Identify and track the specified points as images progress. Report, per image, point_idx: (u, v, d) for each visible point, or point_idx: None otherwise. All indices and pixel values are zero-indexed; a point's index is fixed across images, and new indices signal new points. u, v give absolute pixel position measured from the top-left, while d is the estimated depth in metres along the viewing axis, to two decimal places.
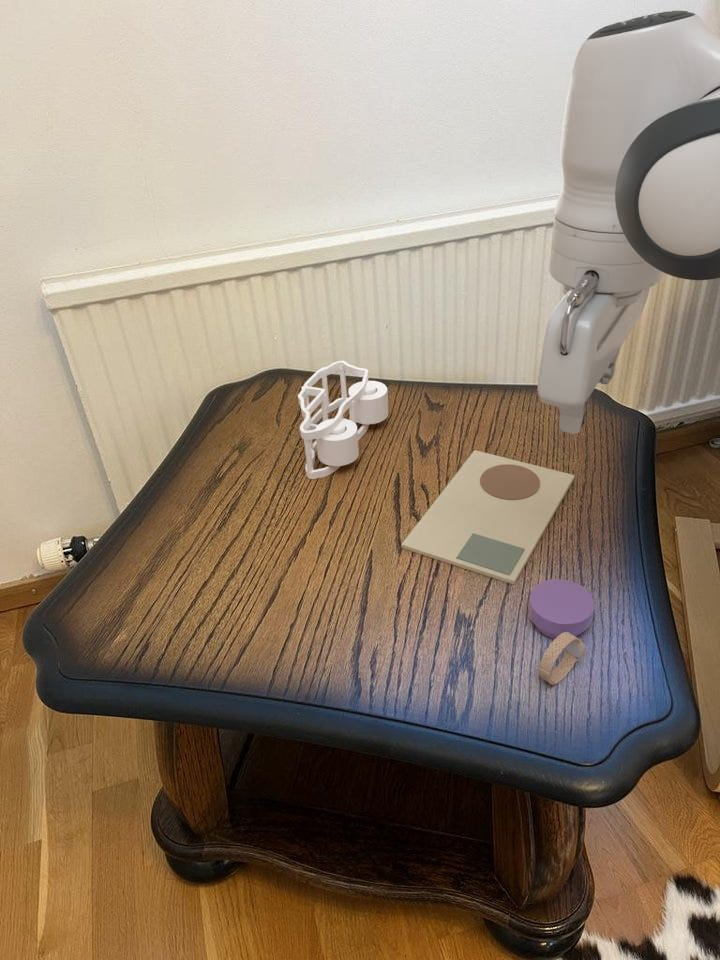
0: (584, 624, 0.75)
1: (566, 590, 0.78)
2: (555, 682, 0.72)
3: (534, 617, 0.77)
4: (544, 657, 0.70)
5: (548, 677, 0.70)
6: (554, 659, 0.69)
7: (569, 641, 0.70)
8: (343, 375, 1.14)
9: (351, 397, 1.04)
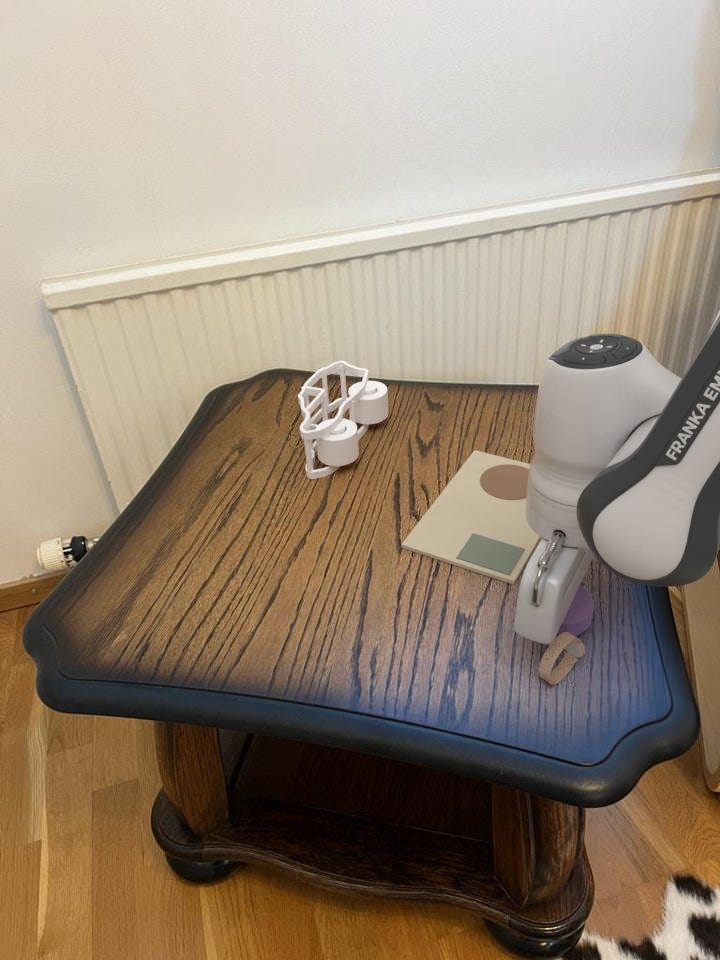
0: (584, 624, 0.75)
1: None
2: (555, 682, 0.72)
3: None
4: (544, 657, 0.70)
5: (548, 677, 0.70)
6: (554, 659, 0.69)
7: (569, 641, 0.70)
8: (343, 375, 1.14)
9: (351, 397, 1.04)
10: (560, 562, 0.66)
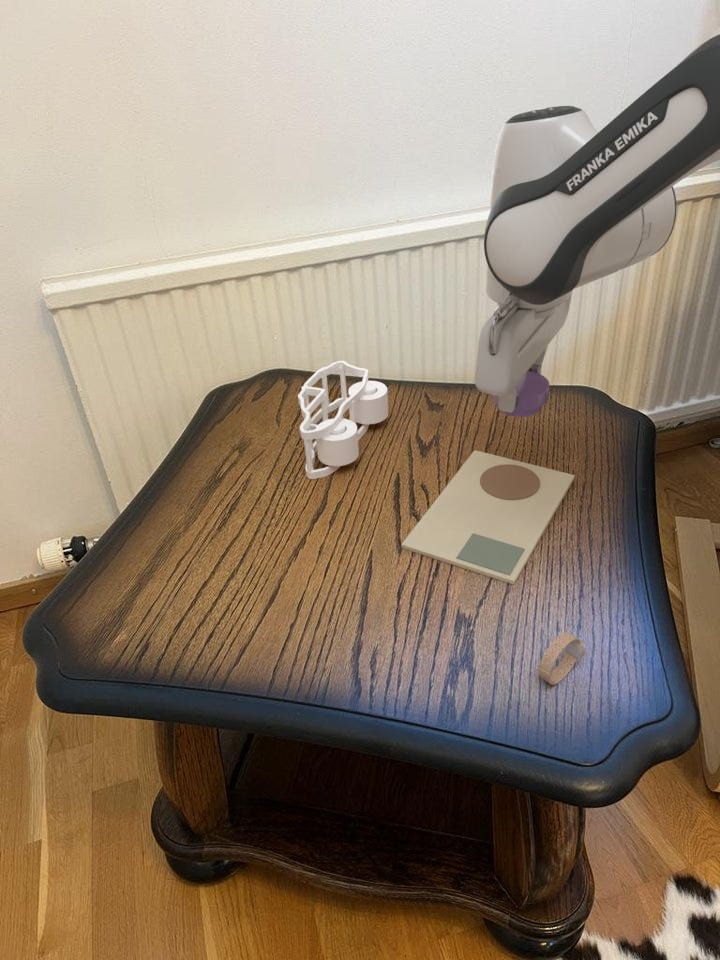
0: (540, 399, 0.85)
1: (525, 376, 0.88)
2: (555, 682, 0.72)
3: (496, 396, 0.86)
4: (544, 657, 0.70)
5: (548, 677, 0.70)
6: (554, 659, 0.69)
7: (569, 641, 0.70)
8: (343, 375, 1.14)
9: (351, 397, 1.04)
10: (514, 317, 0.75)
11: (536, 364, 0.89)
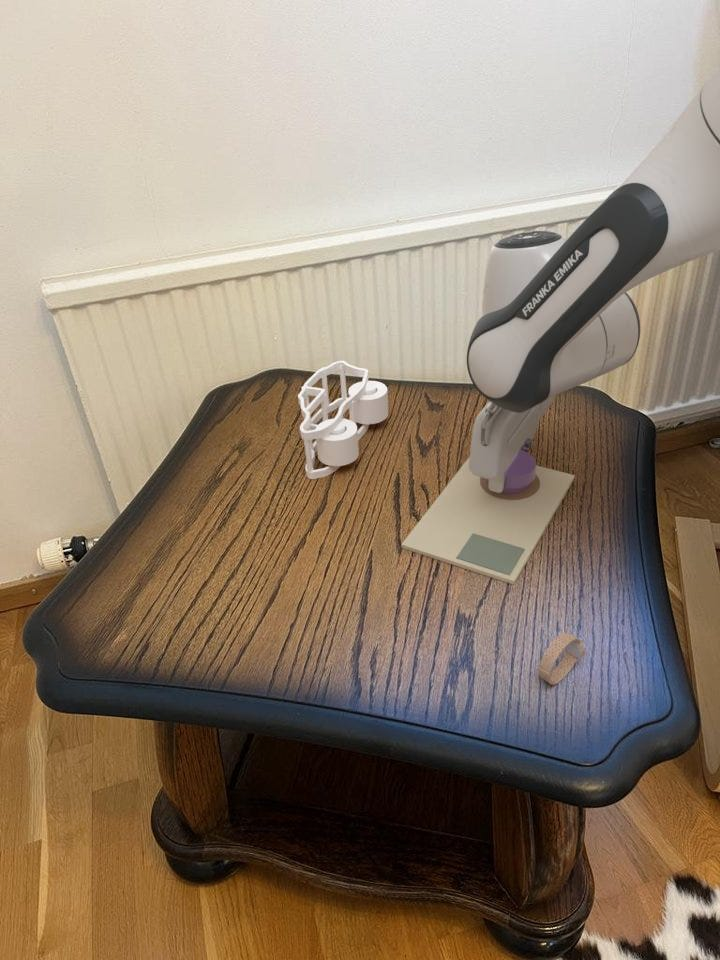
0: (527, 478, 0.94)
1: None
2: (555, 682, 0.72)
3: None
4: (544, 657, 0.70)
5: (548, 677, 0.70)
6: (554, 659, 0.69)
7: (569, 641, 0.70)
8: (343, 375, 1.14)
9: (351, 397, 1.04)
10: (504, 412, 0.85)
11: (528, 438, 0.99)
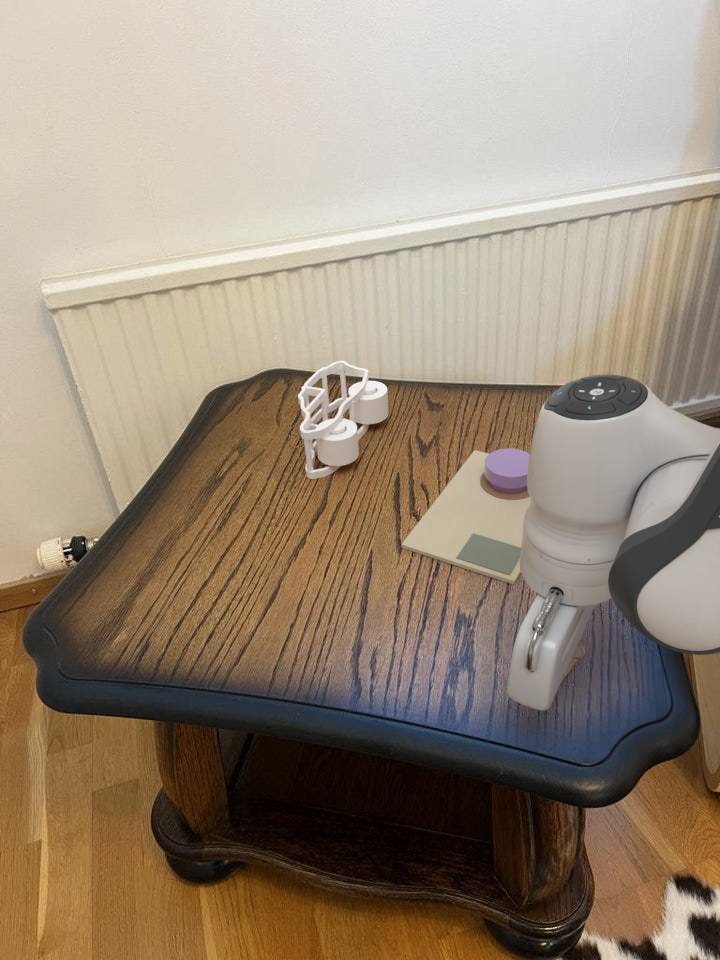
0: None
1: (515, 455, 0.97)
2: None
3: (488, 475, 0.96)
4: None
5: None
6: None
7: None
8: (343, 375, 1.14)
9: (351, 397, 1.04)
10: (557, 623, 0.60)
11: None
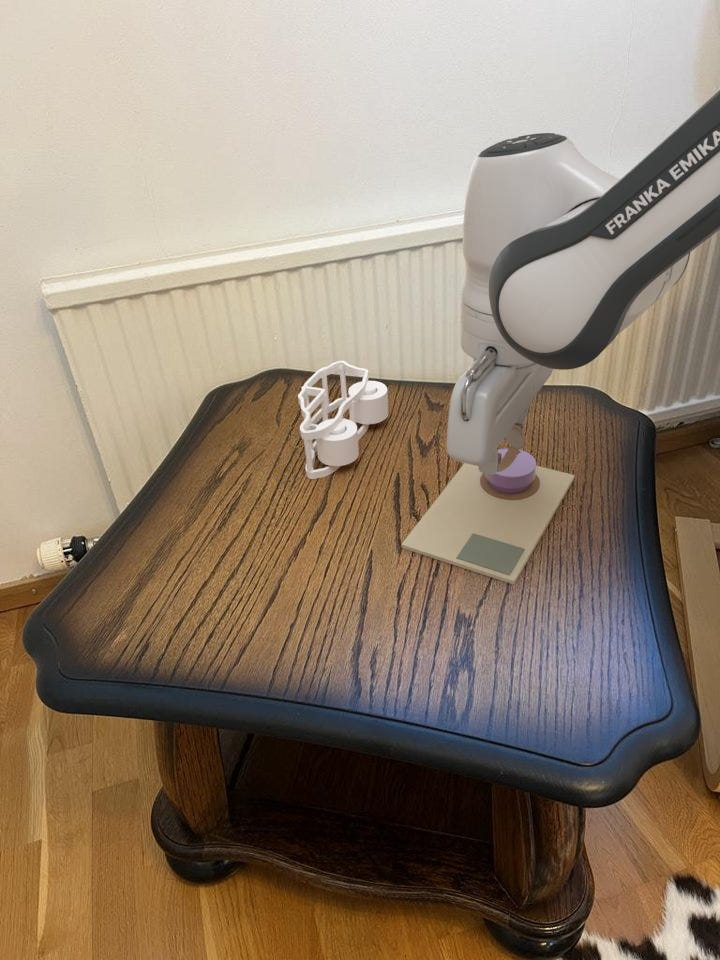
0: (527, 478, 0.94)
1: None
2: (498, 470, 0.77)
3: (488, 475, 0.96)
4: None
5: None
6: None
7: None
8: (343, 375, 1.14)
9: (351, 397, 1.04)
10: (491, 377, 0.65)
11: (517, 423, 0.78)
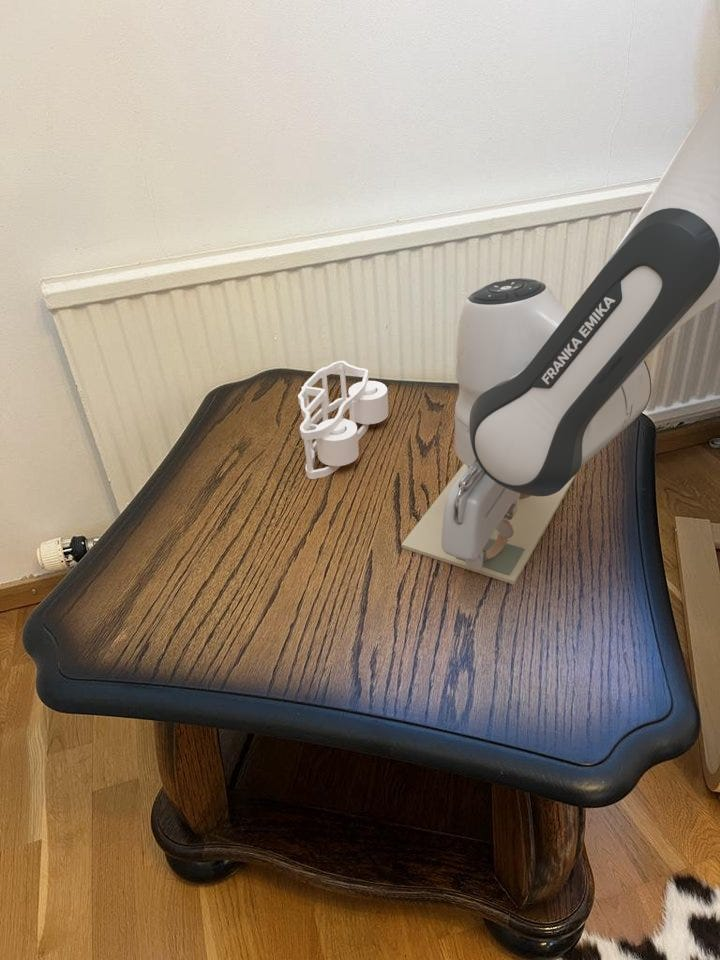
0: None
1: None
2: (488, 557, 0.86)
3: None
4: None
5: None
6: None
7: None
8: (343, 375, 1.14)
9: (351, 397, 1.04)
10: (481, 485, 0.74)
11: (511, 503, 0.88)
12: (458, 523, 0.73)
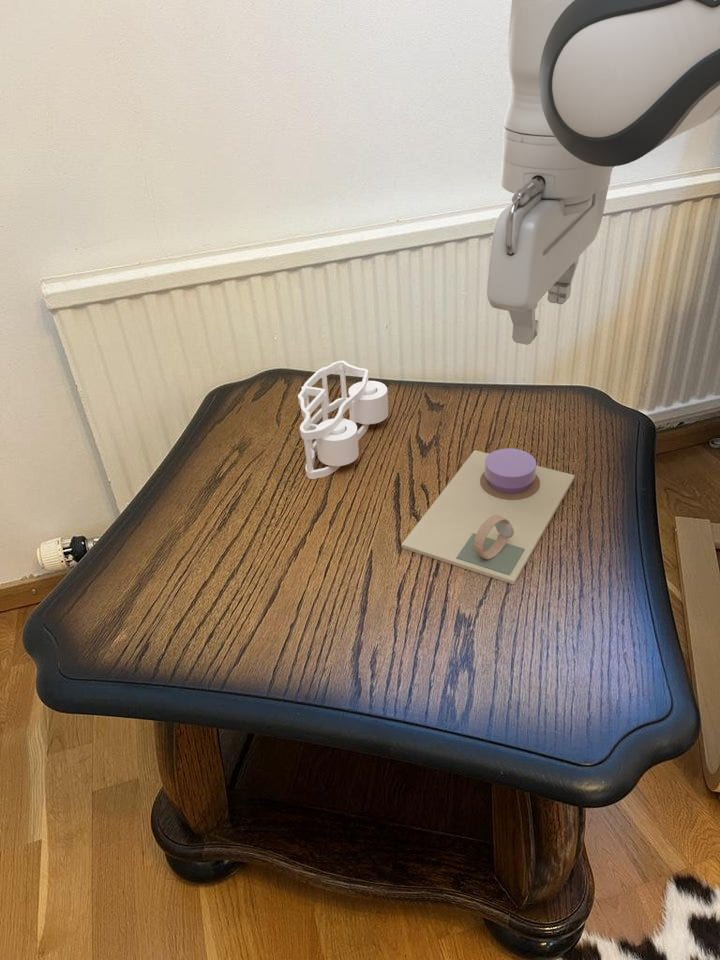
0: (527, 478, 0.94)
1: (515, 455, 0.97)
2: (488, 557, 0.86)
3: (488, 475, 0.96)
4: (478, 533, 0.84)
5: (481, 550, 0.84)
6: (485, 534, 0.83)
7: (498, 520, 0.84)
8: (343, 375, 1.14)
9: (351, 397, 1.04)
10: (538, 207, 0.58)
11: (564, 282, 0.72)
12: (510, 253, 0.58)
